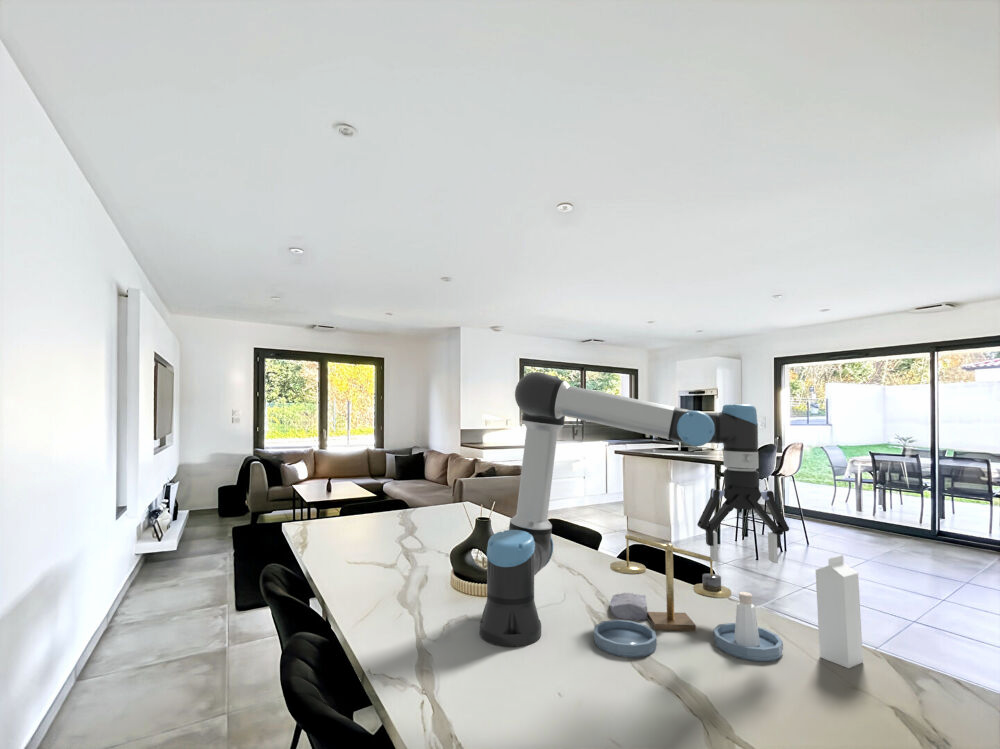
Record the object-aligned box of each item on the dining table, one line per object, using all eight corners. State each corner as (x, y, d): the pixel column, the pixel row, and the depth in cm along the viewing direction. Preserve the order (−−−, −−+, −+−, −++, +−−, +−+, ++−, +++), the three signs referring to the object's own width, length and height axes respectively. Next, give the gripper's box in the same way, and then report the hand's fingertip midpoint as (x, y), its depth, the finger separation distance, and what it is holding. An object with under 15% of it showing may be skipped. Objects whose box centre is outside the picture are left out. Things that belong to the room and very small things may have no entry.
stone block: (612, 625, 132) (651, 621, 130) (608, 606, 133) (646, 601, 131) (612, 610, 144) (648, 606, 142) (609, 593, 145) (644, 588, 143)
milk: (863, 662, 109) (858, 558, 111) (848, 669, 106) (844, 562, 108) (833, 651, 114) (829, 551, 116) (818, 657, 111) (814, 555, 113)
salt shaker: (732, 644, 115) (731, 594, 116) (735, 635, 120) (734, 588, 121) (759, 650, 112) (757, 599, 113) (761, 640, 117) (759, 592, 118)
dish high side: (582, 643, 117) (582, 632, 117) (613, 626, 127) (613, 615, 127) (638, 663, 108) (637, 651, 108) (666, 642, 118) (666, 631, 118)
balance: (614, 630, 125) (613, 538, 127) (608, 616, 134) (607, 530, 136) (738, 633, 123) (735, 540, 125) (724, 618, 132) (721, 532, 134)
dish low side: (705, 647, 116) (705, 635, 116) (726, 629, 126) (726, 618, 126) (772, 668, 106) (771, 655, 106) (789, 646, 116) (788, 634, 117)
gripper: (693, 469, 116) (694, 563, 115) (803, 472, 115) (807, 567, 113) (683, 466, 124) (684, 554, 122) (786, 468, 123) (789, 557, 121)
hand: (743, 560), depth 118 cm, fingers open, 13 cm apart
